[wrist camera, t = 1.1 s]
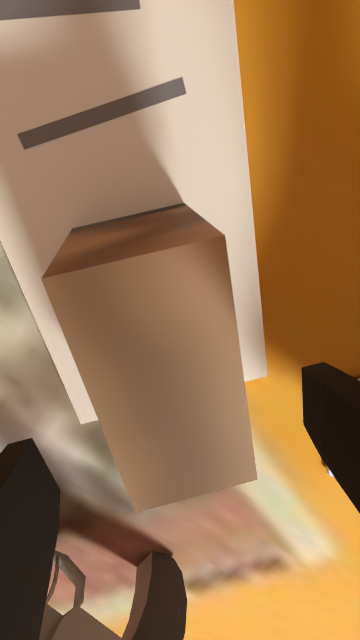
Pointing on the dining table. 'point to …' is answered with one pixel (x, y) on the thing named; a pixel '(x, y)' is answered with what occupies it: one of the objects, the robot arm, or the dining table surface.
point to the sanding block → (158, 350)
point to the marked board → (122, 141)
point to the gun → (146, 613)
